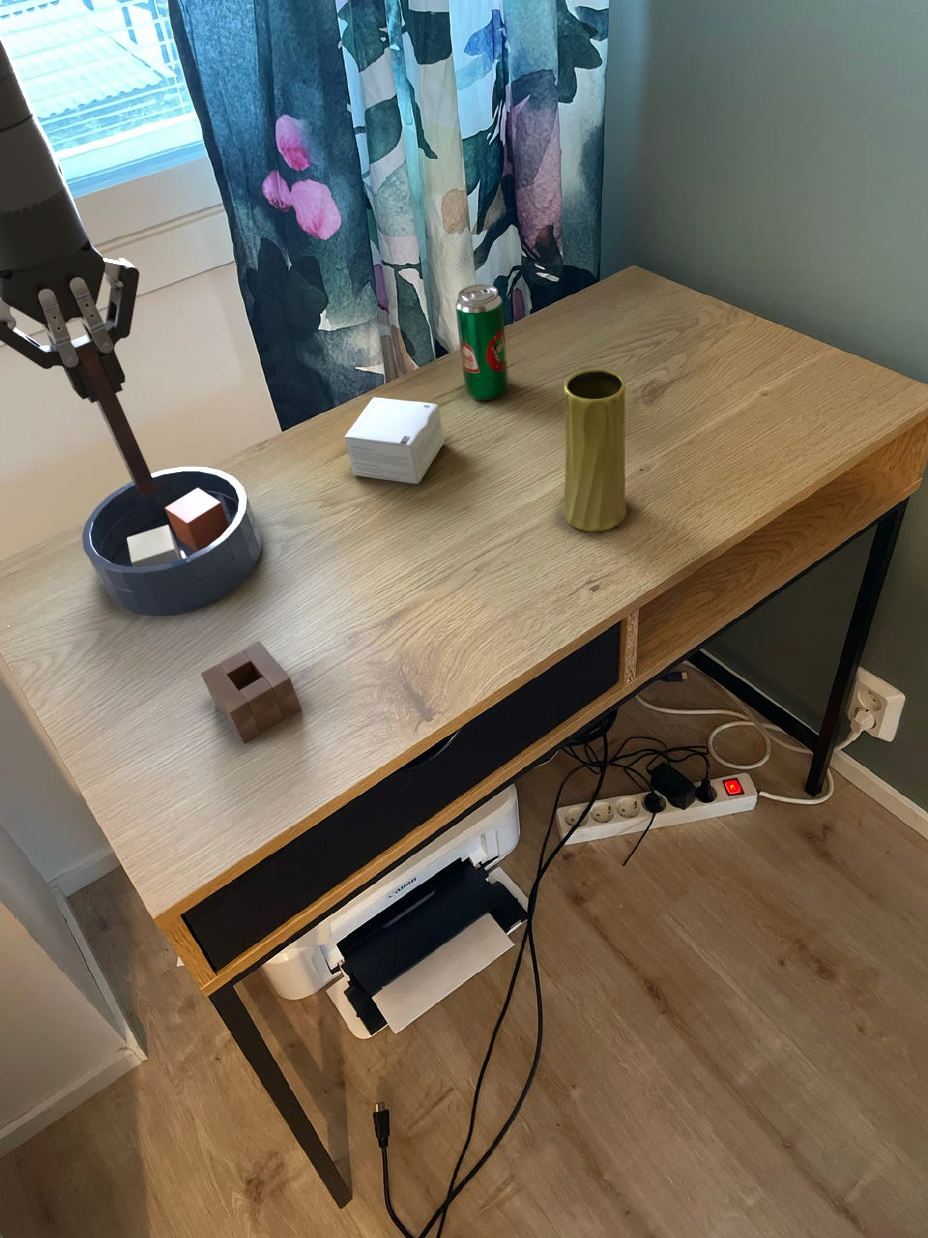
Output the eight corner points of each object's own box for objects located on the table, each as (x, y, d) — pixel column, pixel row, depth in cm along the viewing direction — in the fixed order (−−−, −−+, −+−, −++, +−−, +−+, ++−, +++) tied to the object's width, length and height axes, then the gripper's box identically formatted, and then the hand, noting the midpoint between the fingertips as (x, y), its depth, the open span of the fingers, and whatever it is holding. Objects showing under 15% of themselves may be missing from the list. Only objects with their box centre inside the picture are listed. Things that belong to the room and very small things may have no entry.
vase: (553, 503, 89) (548, 376, 79) (609, 486, 90) (611, 358, 80) (578, 540, 85) (576, 410, 75) (637, 521, 86) (643, 391, 76)
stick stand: (243, 744, 72) (229, 713, 69) (215, 704, 75) (200, 673, 72) (301, 708, 74) (290, 677, 71) (271, 671, 77) (259, 640, 74)
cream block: (146, 593, 85) (131, 562, 82) (141, 568, 88) (126, 537, 85) (188, 580, 86) (174, 548, 83) (181, 555, 88) (168, 524, 85)
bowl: (140, 641, 81) (117, 598, 77) (82, 556, 91) (59, 514, 87) (289, 561, 87) (275, 518, 83) (220, 490, 96) (204, 447, 92)
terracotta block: (200, 554, 88) (187, 523, 85) (177, 538, 90) (164, 507, 87) (232, 533, 90) (220, 502, 87) (210, 518, 92) (197, 487, 89)
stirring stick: (143, 499, 86) (74, 348, 74) (137, 492, 87) (68, 341, 75) (159, 492, 86) (93, 340, 75) (152, 485, 87) (86, 334, 76)
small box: (381, 434, 101) (373, 394, 97) (446, 443, 98) (440, 402, 94) (351, 476, 96) (342, 436, 92) (419, 486, 93) (412, 445, 90)
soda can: (460, 385, 106) (448, 288, 97) (500, 375, 107) (492, 278, 98) (473, 407, 103) (462, 308, 94) (514, 396, 103) (507, 297, 95)
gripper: (83, 150, 71) (159, 349, 83) (-93, 205, 66) (15, 408, 78) (117, 172, 66) (192, 379, 79) (-69, 233, 62) (41, 444, 74)
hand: (103, 393), depth 79 cm, fingers closed on stirring stick, 1 cm apart
